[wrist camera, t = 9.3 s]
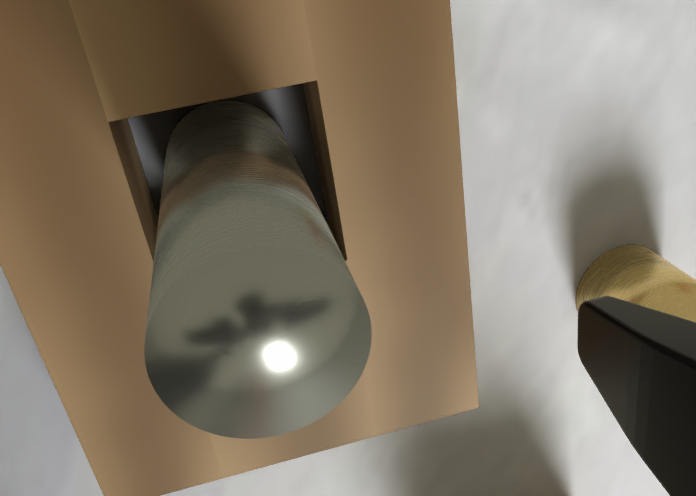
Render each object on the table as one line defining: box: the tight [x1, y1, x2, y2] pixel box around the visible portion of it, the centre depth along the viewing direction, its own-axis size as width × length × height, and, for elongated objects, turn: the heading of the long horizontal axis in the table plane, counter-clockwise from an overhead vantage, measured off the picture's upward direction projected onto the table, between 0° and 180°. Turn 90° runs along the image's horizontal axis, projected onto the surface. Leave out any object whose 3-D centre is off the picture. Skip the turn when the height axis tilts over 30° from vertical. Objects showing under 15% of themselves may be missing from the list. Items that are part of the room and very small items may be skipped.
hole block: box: [0, 0, 479, 496], centre depth 18 cm, size 12×18×3 cm, turn 8°
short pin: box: [576, 245, 696, 322], centre depth 23 cm, size 4×4×4 cm
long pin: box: [144, 100, 372, 439], centre depth 15 cm, size 4×4×10 cm
